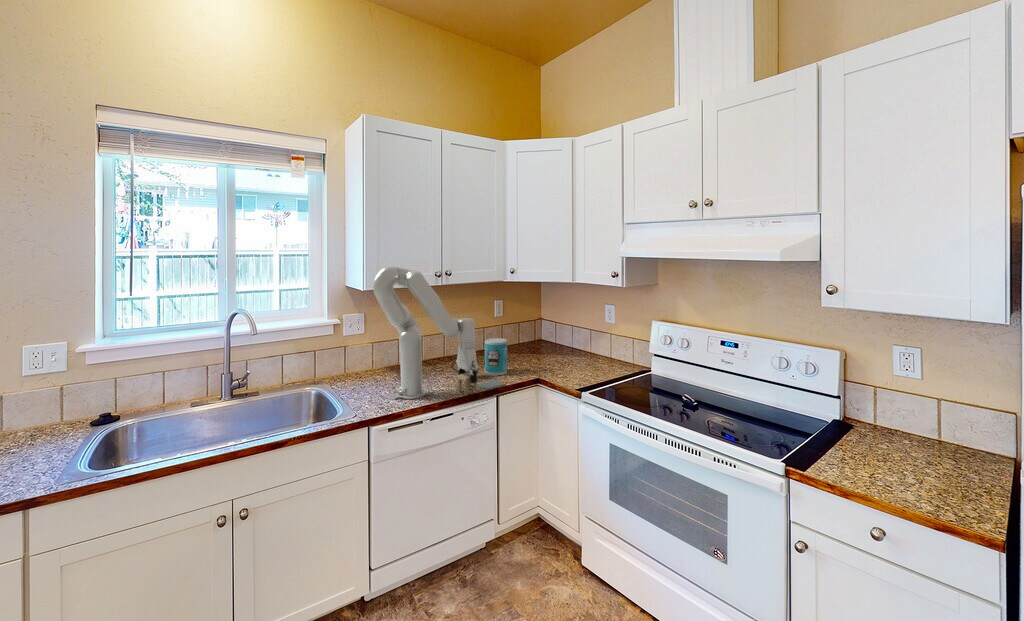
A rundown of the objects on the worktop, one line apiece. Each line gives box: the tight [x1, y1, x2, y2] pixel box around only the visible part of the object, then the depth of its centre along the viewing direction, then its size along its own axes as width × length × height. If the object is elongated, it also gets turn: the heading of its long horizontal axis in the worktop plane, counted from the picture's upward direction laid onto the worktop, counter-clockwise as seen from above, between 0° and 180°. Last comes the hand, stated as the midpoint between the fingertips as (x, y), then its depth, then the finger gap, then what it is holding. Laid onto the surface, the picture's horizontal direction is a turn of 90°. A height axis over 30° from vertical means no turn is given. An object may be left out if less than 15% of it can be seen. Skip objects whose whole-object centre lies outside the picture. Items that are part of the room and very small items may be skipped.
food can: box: [484, 337, 508, 377], centre depth 241 cm, size 12×12×18 cm
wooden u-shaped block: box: [457, 373, 478, 395], centre depth 210 cm, size 6×6×8 cm
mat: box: [477, 379, 507, 391], centre depth 220 cm, size 12×9×1 cm
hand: (467, 380), depth 210 cm, fingers open, 9 cm apart
